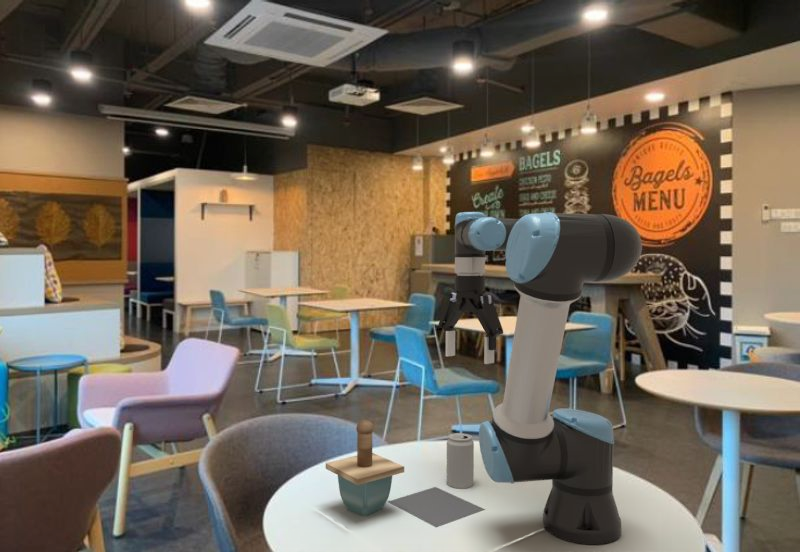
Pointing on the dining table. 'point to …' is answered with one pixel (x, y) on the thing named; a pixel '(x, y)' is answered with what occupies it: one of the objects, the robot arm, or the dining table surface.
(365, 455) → the lid
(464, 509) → the mat
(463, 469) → the beverage can
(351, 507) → the flower pot
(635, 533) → the dining table surface
